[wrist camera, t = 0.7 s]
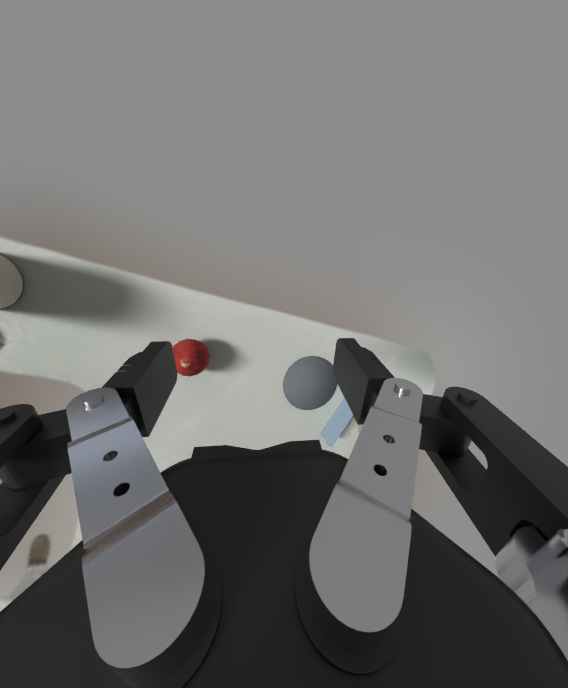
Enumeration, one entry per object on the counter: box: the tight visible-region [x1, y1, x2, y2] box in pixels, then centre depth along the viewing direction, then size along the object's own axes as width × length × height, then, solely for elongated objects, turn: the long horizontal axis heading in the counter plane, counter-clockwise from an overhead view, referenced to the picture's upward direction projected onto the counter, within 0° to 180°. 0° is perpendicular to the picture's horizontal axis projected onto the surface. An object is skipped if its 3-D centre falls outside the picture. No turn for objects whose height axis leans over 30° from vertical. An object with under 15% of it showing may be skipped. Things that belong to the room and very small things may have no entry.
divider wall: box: [321, 398, 353, 447], centre depth 49 cm, size 16×1×4 cm, turn 146°
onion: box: [173, 339, 210, 376], centre depth 38 cm, size 6×6×8 cm
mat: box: [283, 356, 337, 410], centre depth 48 cm, size 11×11×1 cm
